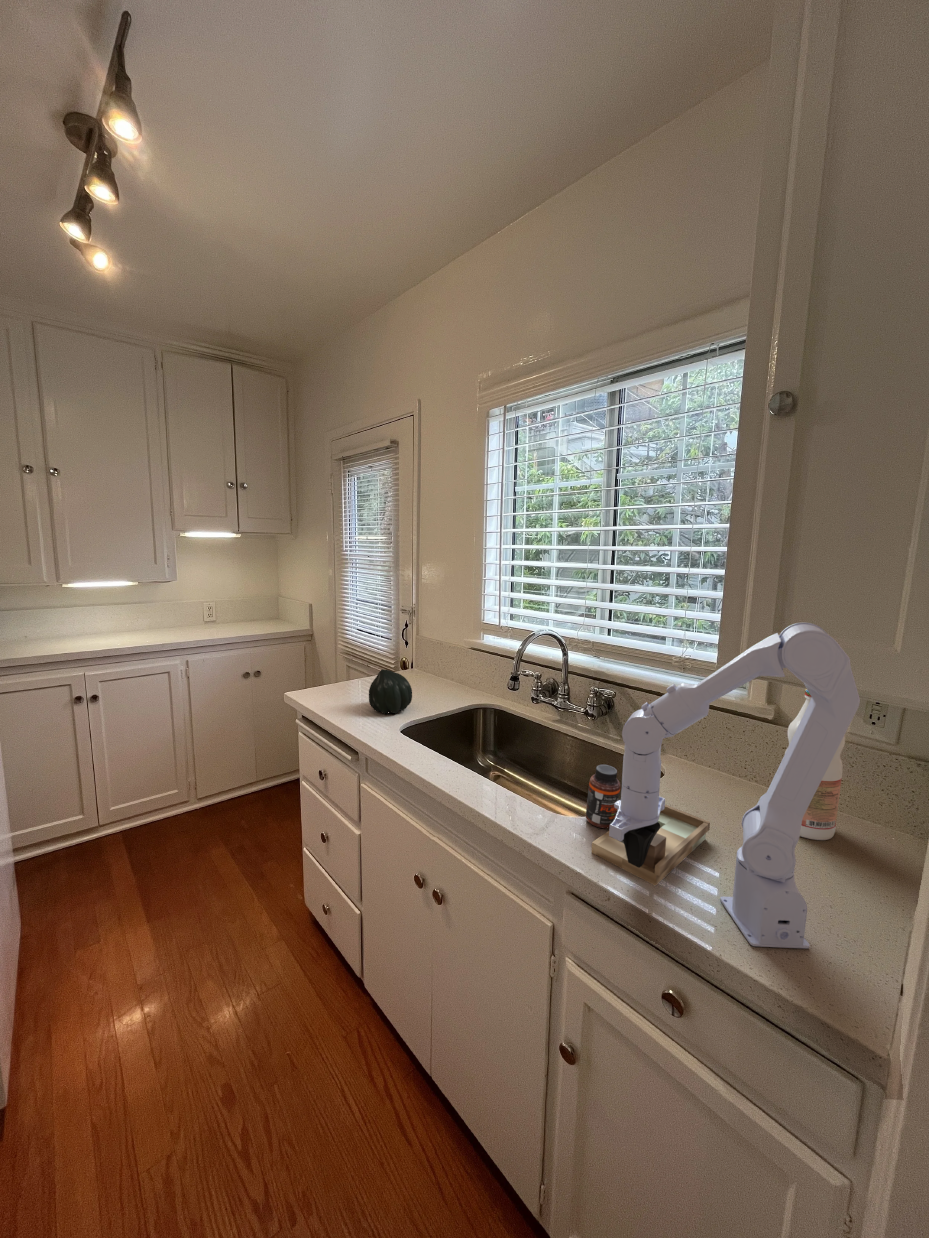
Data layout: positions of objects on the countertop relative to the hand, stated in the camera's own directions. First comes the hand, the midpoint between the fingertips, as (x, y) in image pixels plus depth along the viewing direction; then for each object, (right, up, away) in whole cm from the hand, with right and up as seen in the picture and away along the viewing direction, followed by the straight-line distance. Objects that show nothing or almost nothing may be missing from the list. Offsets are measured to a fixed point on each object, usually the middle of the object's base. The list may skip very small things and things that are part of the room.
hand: (635, 863), depth 81 cm
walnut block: (+3, -1, +3) cm, 4 cm away
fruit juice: (+39, -2, +17) cm, 43 cm away
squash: (-53, +9, +86) cm, 101 cm away
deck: (+6, -2, +10) cm, 12 cm away
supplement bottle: (-1, -1, +18) cm, 18 cm away
